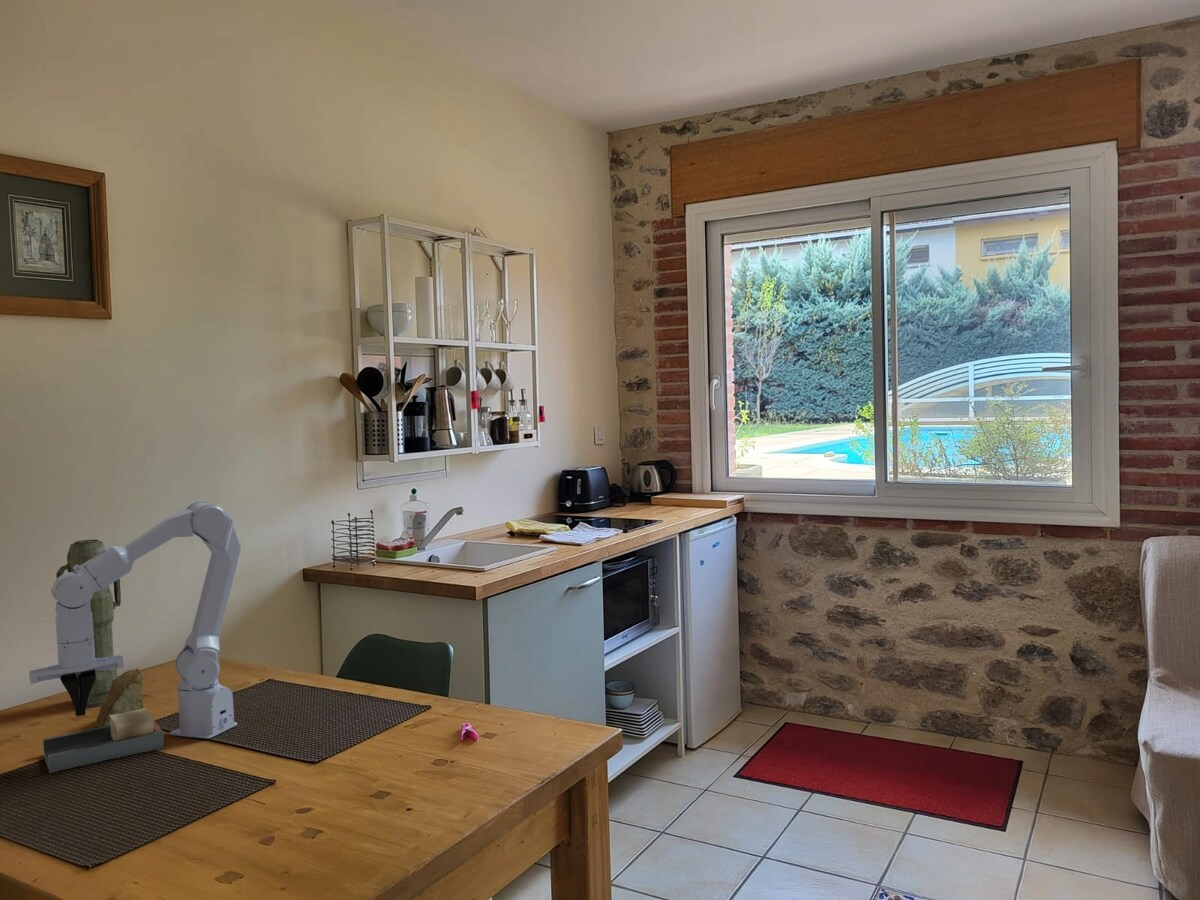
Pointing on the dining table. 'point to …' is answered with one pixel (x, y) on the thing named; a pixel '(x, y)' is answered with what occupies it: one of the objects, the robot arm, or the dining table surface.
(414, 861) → the dining table surface
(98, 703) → the thermos
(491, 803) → the dining table surface
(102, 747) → the chute
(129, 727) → the block
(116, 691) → the rock
